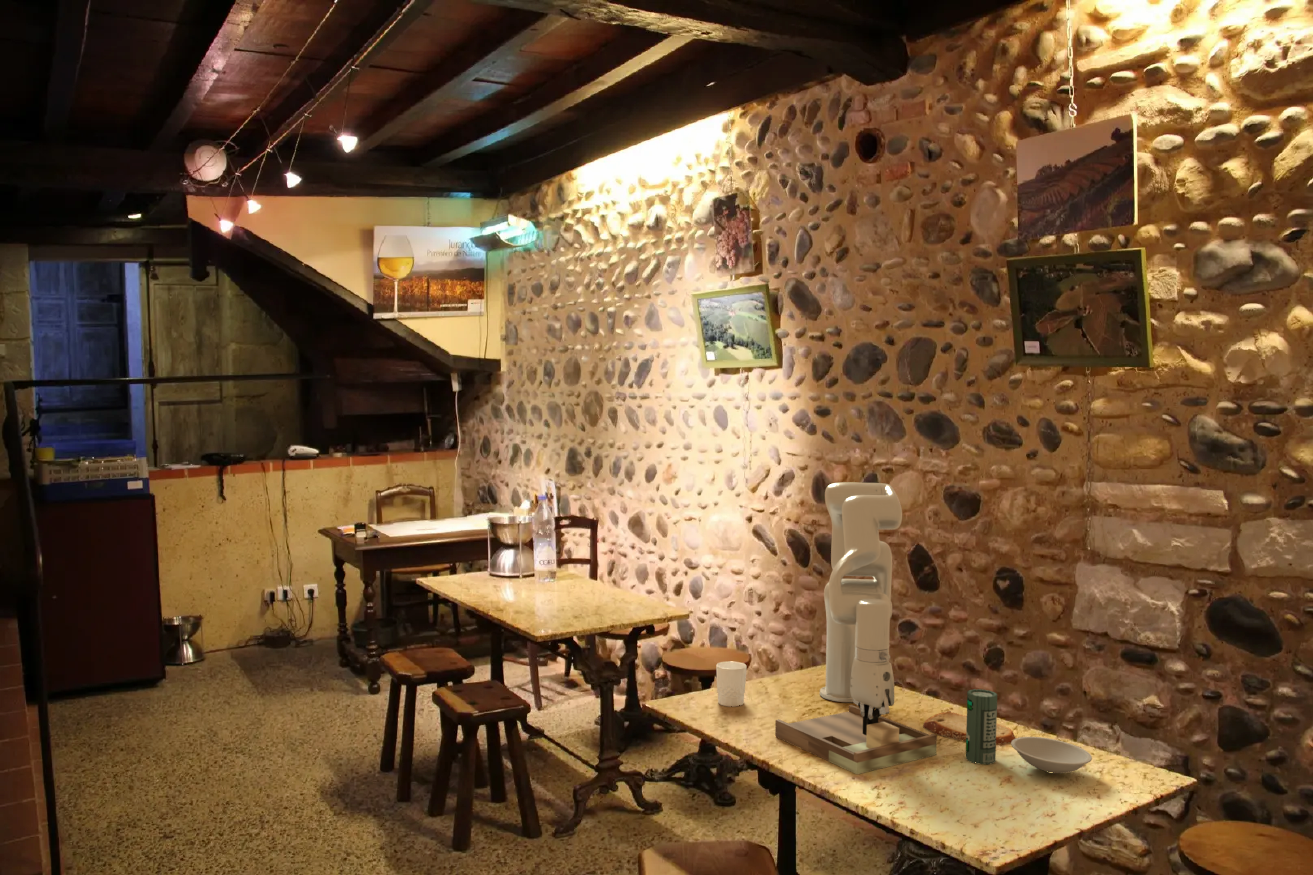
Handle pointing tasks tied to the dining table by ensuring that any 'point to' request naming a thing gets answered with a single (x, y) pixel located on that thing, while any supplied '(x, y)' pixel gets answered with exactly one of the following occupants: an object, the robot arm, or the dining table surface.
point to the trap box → (855, 741)
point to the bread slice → (961, 727)
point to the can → (981, 726)
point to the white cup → (731, 683)
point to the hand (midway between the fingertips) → (870, 734)
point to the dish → (1051, 754)
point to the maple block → (881, 734)
